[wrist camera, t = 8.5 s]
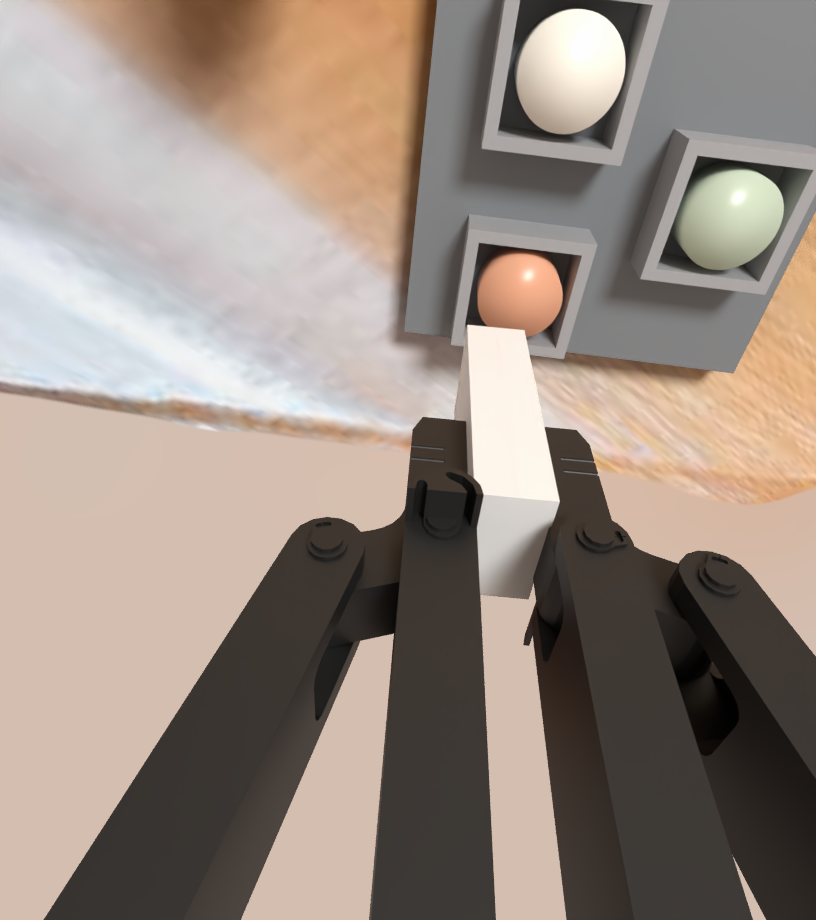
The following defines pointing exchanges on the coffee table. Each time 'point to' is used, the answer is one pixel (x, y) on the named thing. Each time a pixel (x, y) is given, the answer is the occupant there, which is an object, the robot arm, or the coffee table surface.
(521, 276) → the terracotta button
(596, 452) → the coffee table surface
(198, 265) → the coffee table surface
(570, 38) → the cream button
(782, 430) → the coffee table surface
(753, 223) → the sage button
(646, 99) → the panel
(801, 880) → the robot arm
